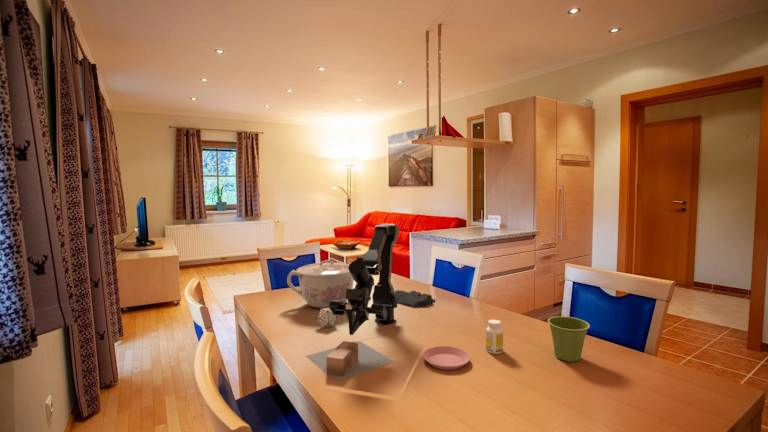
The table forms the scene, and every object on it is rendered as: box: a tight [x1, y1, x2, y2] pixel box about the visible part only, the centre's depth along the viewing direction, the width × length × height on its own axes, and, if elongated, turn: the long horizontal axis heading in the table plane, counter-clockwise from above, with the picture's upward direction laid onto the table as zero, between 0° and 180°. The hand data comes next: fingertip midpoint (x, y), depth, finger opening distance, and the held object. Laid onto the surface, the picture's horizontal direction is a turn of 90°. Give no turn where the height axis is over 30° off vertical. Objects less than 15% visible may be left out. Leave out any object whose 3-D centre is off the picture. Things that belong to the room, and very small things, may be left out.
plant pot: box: [547, 315, 591, 363], centre depth 121 cm, size 12×12×11 cm
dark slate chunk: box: [394, 289, 436, 309], centre depth 183 cm, size 15×22×5 cm
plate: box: [422, 345, 471, 371], centre depth 119 cm, size 14×14×2 cm
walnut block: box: [326, 340, 358, 376], centre depth 115 cm, size 5×5×12 cm
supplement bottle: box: [485, 319, 504, 355], centre depth 126 cm, size 5×5×10 cm
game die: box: [314, 307, 340, 330], centre depth 149 cm, size 9×8×10 cm
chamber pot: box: [286, 259, 355, 309], centre depth 178 cm, size 28×28×21 cm
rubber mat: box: [305, 340, 395, 382], centre depth 120 cm, size 20×20×1 cm
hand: (350, 334), depth 120 cm, fingers closed
